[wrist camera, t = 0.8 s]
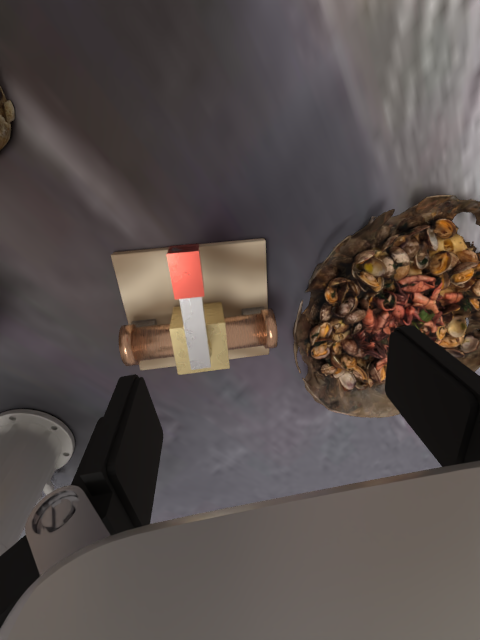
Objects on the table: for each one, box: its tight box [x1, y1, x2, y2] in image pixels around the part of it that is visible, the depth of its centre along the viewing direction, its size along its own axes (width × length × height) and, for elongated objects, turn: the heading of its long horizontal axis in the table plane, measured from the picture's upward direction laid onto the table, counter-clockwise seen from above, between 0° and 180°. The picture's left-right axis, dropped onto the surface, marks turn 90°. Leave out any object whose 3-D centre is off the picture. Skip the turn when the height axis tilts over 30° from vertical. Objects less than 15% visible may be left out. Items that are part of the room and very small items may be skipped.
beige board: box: [111, 238, 269, 370], centre depth 40 cm, size 16×18×2 cm
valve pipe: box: [119, 302, 277, 375], centre depth 37 cm, size 6×18×7 cm, turn 94°
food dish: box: [293, 195, 480, 418], centre depth 43 cm, size 35×33×8 cm
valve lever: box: [167, 244, 211, 370], centre depth 29 cm, size 13×3×4 cm, turn 4°
